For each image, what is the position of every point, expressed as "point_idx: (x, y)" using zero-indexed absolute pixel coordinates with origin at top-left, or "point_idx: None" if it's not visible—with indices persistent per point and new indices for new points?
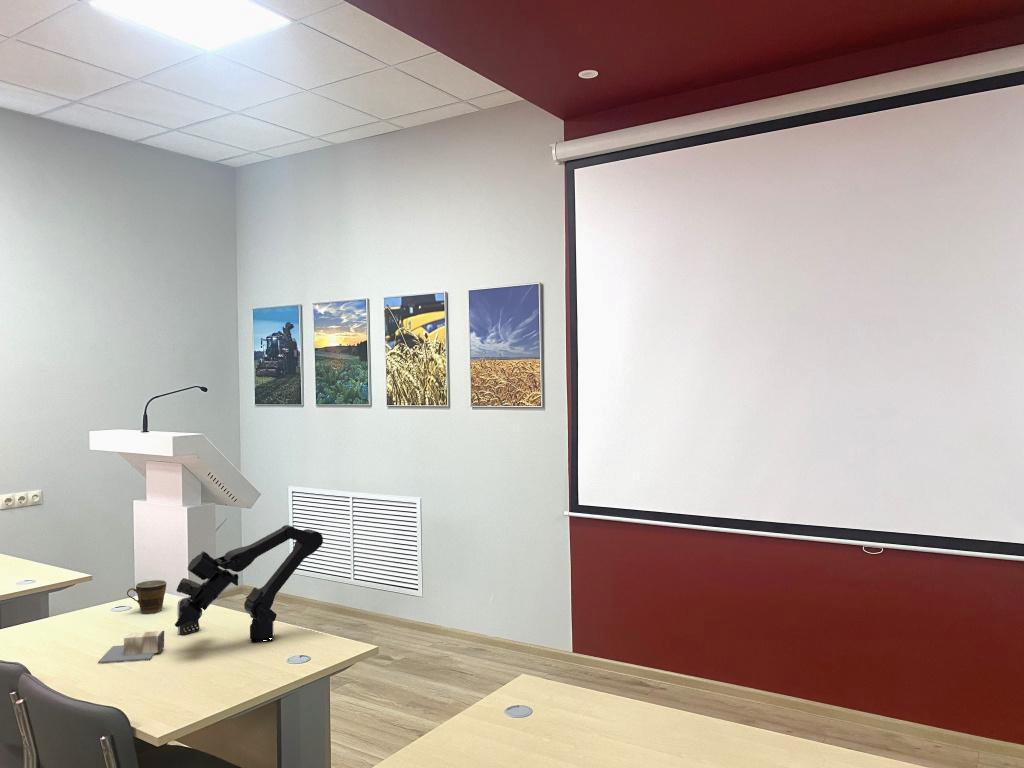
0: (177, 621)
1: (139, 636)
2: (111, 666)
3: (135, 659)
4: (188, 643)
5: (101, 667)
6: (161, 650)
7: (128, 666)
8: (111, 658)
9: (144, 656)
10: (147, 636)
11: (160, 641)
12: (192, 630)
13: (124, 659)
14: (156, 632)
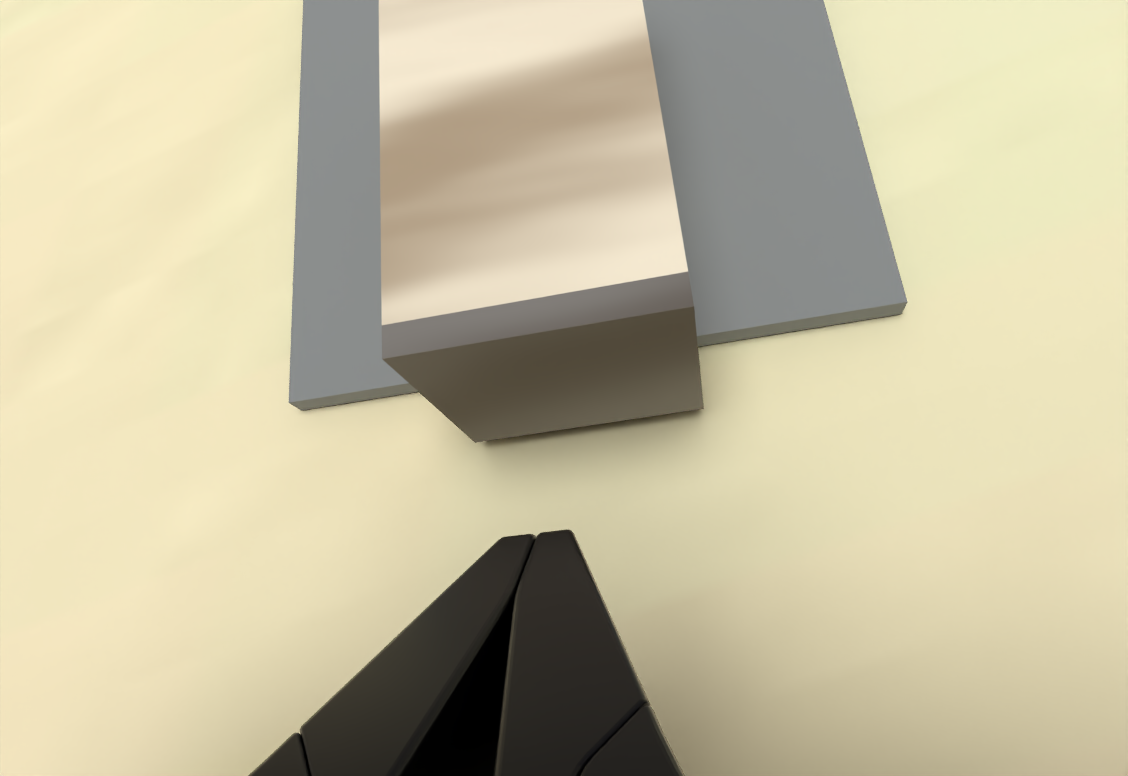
0: (434, 617)
1: (409, 64)
2: (214, 120)
3: (296, 257)
4: (984, 702)
5: (212, 54)
6: (549, 430)
7: (168, 269)
8: (370, 26)
9: (362, 313)
10: (380, 175)
11: (445, 392)
12: None
13: (309, 154)
14: (586, 219)
